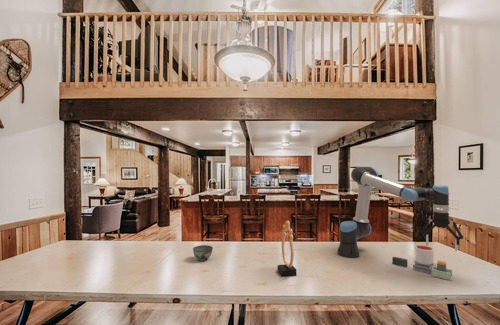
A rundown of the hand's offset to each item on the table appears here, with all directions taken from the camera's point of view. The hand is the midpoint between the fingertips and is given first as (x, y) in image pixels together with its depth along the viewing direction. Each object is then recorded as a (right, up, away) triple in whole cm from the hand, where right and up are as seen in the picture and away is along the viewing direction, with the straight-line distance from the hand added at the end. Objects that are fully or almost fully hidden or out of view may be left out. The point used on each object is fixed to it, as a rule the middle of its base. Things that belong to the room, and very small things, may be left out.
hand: (441, 247), depth 152 cm
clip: (-6, -17, +9) cm, 20 cm away
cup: (+5, -17, +21) cm, 28 cm away
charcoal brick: (-14, -17, +17) cm, 28 cm away
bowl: (-145, -17, +27) cm, 149 cm away
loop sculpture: (-90, -17, +4) cm, 92 cm away
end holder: (0, -17, 0) cm, 17 cm away
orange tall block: (0, -16, 0) cm, 16 cm away
